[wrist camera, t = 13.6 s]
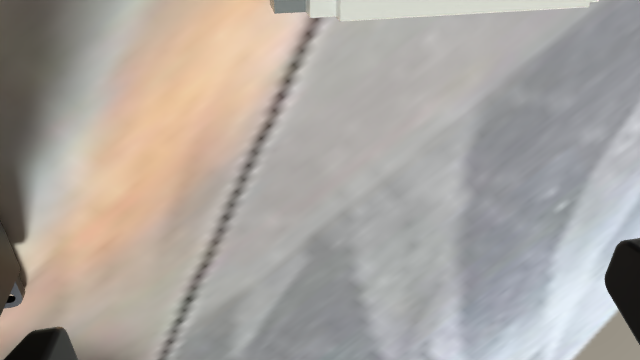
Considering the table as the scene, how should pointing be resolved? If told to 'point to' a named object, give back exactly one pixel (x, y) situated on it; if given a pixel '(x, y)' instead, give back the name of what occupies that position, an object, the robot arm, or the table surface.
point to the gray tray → (414, 7)
